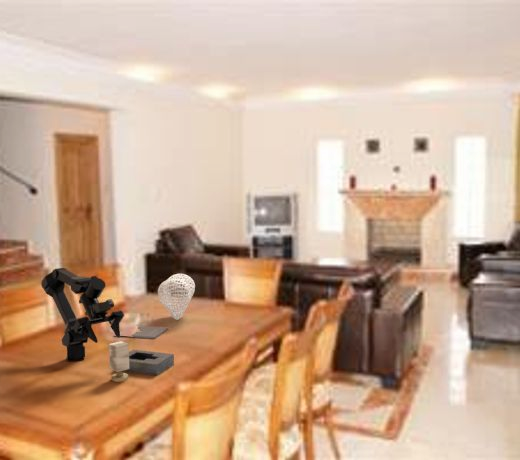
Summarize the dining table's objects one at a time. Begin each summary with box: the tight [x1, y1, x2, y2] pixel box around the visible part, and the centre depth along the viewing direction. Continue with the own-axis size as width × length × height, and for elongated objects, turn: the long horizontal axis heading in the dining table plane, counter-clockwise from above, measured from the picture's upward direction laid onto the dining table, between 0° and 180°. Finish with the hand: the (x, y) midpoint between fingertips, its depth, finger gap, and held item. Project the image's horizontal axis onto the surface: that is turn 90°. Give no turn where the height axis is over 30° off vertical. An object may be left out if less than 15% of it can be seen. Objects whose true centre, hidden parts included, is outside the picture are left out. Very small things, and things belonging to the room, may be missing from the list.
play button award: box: [132, 325, 170, 340], centre depth 274 cm, size 16×2×20 cm
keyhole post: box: [108, 340, 130, 383], centre depth 212 cm, size 6×6×13 cm
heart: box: [157, 273, 196, 321], centre depth 297 cm, size 28×16×22 cm, turn 175°
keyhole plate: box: [123, 349, 175, 376], centre depth 225 cm, size 18×13×4 cm
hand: (108, 339), depth 217 cm, fingers open, 9 cm apart
